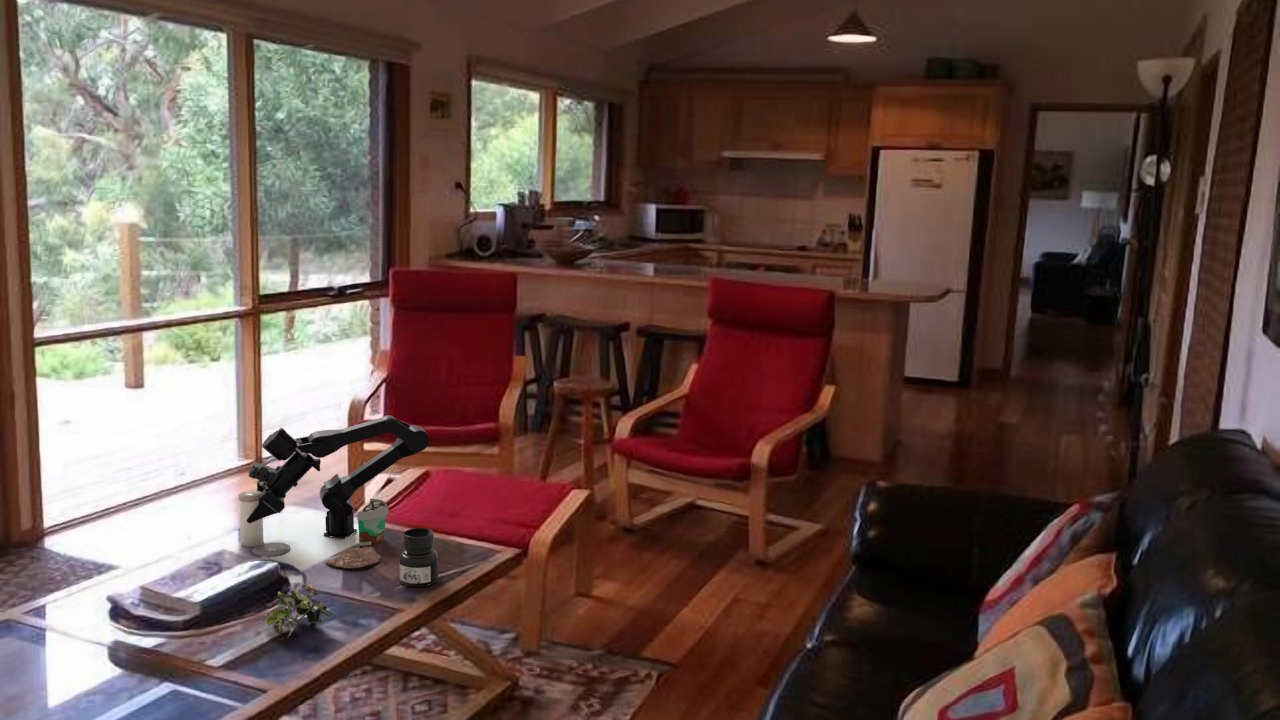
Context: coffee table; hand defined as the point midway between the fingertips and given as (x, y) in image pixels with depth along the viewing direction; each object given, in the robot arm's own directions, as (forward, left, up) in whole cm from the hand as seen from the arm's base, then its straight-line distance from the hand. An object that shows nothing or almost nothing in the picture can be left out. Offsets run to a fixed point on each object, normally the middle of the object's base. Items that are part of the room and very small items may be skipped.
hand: (247, 516), depth 265 cm
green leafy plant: (-43, +39, -7) cm, 59 cm away
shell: (-32, +1, -8) cm, 33 cm away
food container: (-30, -13, -7) cm, 33 cm away
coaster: (-9, +2, -7) cm, 11 cm away
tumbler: (-1, -1, -7) cm, 7 cm away
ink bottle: (-53, +6, -7) cm, 54 cm away
